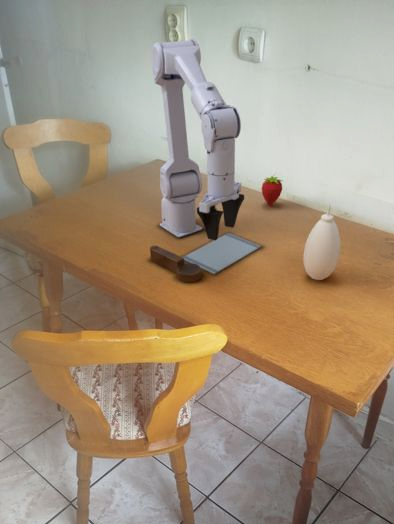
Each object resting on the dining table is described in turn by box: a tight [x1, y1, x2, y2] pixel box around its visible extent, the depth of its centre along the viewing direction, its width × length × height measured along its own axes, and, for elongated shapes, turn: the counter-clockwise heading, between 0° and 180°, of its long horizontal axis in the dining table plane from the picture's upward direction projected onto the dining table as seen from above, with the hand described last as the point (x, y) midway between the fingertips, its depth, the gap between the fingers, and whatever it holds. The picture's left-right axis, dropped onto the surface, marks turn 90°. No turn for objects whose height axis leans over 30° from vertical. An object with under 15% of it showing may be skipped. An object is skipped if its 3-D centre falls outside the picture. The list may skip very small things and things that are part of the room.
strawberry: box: [261, 172, 283, 207], centre depth 145 cm, size 6×8×10 cm
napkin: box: [181, 232, 262, 275], centre depth 126 cm, size 11×18×1 cm, turn 137°
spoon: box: [149, 245, 202, 284], centre depth 120 cm, size 15×6×3 cm, turn 47°
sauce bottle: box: [302, 203, 341, 281], centre depth 111 cm, size 8×8×18 cm
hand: (221, 232), depth 113 cm, fingers open, 7 cm apart
